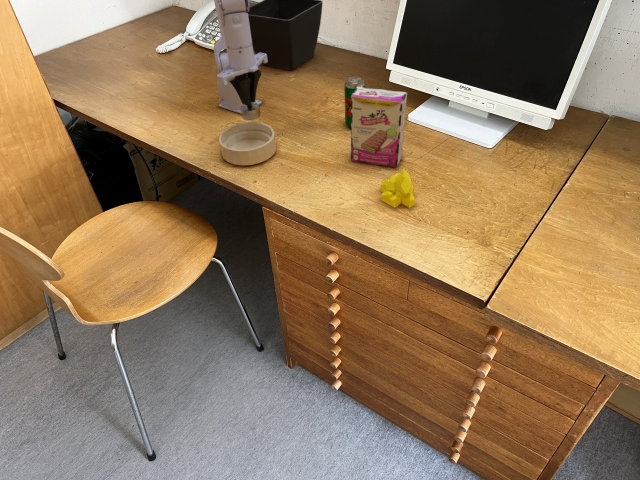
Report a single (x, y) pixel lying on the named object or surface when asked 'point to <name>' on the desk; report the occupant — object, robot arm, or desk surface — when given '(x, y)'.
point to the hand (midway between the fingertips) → (248, 102)
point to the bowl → (247, 143)
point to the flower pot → (285, 31)
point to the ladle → (250, 109)
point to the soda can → (349, 90)
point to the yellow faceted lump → (398, 190)
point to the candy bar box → (377, 126)
